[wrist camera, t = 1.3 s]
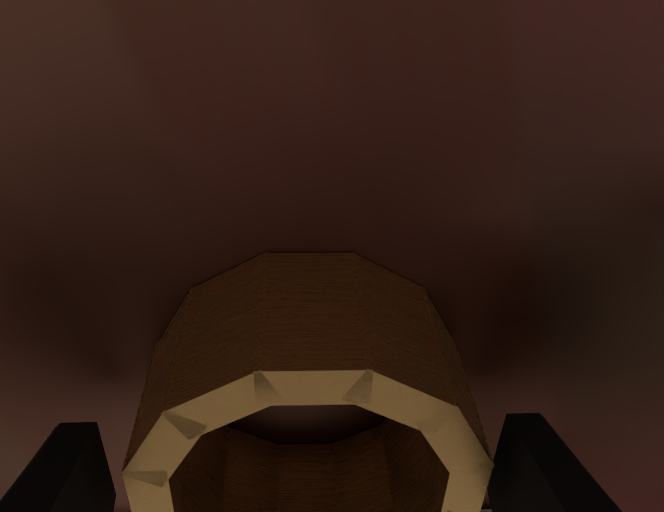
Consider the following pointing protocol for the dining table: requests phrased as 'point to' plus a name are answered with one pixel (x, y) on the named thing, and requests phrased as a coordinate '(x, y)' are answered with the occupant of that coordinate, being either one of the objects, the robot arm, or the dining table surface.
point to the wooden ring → (307, 396)
